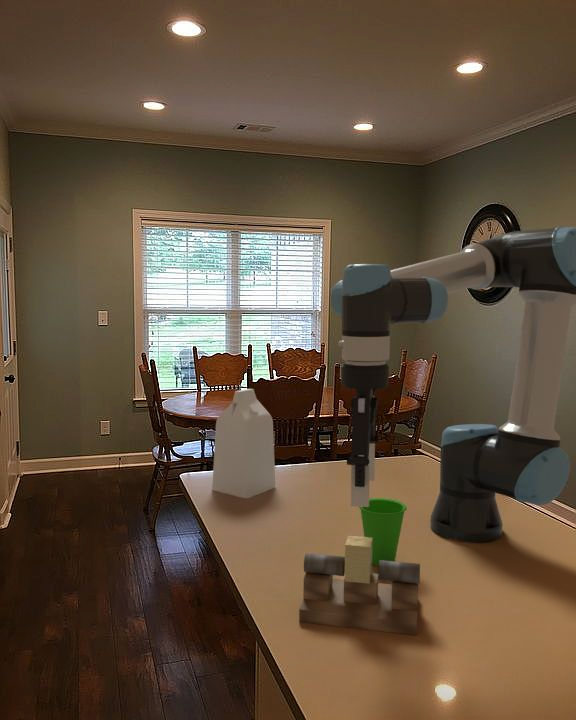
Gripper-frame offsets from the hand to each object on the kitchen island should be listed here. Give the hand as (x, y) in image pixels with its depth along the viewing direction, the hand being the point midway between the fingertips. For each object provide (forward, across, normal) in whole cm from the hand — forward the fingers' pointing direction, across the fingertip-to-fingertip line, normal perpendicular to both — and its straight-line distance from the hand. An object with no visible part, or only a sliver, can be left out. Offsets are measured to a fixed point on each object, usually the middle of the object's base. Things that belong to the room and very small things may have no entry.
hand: (363, 492), depth 105 cm
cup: (+19, -18, +2) cm, 26 cm away
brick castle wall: (+19, +2, 0) cm, 19 cm away
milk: (+19, -56, -35) cm, 69 cm away
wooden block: (+13, +2, 0) cm, 14 cm away
